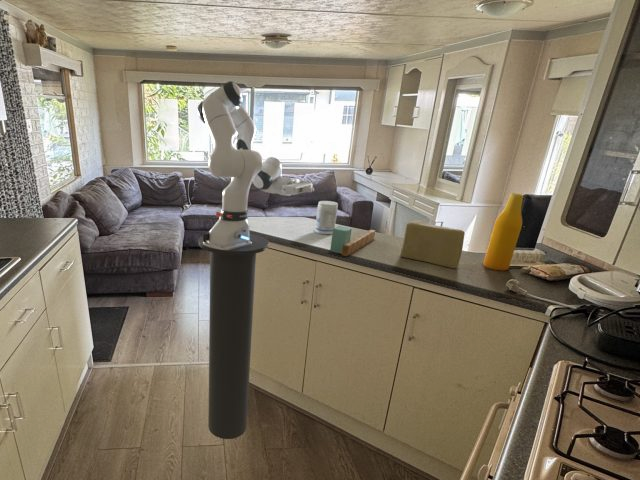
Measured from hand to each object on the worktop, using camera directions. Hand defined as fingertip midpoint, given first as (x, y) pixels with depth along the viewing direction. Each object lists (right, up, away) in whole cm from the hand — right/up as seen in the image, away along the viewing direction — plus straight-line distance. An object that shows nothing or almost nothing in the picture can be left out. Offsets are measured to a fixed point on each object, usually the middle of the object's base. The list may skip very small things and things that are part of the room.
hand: (312, 190), depth 207 cm
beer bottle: (+68, -40, -34) cm, 86 cm away
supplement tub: (+7, -19, +7) cm, 22 cm away
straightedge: (+18, -29, -15) cm, 37 cm away
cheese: (+43, -37, -30) cm, 64 cm away
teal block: (+8, -32, -22) cm, 39 cm away
